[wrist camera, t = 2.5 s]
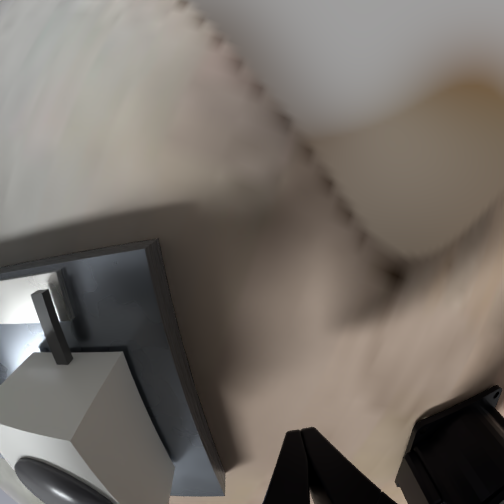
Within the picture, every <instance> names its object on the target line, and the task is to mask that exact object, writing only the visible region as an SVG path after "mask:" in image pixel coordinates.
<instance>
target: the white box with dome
mask: <svg viewBox="0 0 504 504" xmlns="http://www.w3.org/2000/svg"><path fill="white" fill-rule="evenodd" d="M31 298H32V301H33V304H34V307H35V310H36V313H37V316H38V319H39V321H40V324H41V327H42V330H43V332H44V335H45V337H46V340H47V343H48V345H49V347H50V350H51V352H33V353H32V354H31V355H30V356H29V357H28V358H27V359H26V360H25V361H24V362H23V363H22V364H21V365H20V366H19V367H18V368H17V369H16V370H15V371H14V372H13V373H12V374H11V375H10V376H9V377H8V378H7V379H6V380H5V381H4V382H3V383H2V384H1V385H0V453H1V455H2V456H3V457H4V458H5V460H6V461H7V462H8V463H9V465H10V466H11V467H12V468H13V469H14V471H15V472H16V474H17V476H18V478H19V479H20V480H21V482H22V483H23V484H24V485H25V486H26V487H27V488H28V489H29V490H30V491H31V492H32V493H33V494H34V495H35V496H36V497H38V498H39V499H40V500H41V501H43V502H44V503H45V504H169V498H170V493H171V487H172V481H173V476H174V470H175V466H174V464H173V463H172V461H171V459H170V457H169V455H168V453H167V451H166V450H165V448H164V446H163V444H162V442H161V440H160V438H159V436H158V434H157V432H156V430H155V427H154V425H153V423H152V421H151V419H150V417H149V415H148V412H147V410H146V408H145V406H144V403H143V401H142V399H141V397H140V394H139V392H138V389H137V387H136V385H135V382H134V380H133V377H132V375H131V372H130V369H129V367H128V364H127V362H126V359H125V356H124V353H123V351H121V352H81V353H71V351H70V349H69V346H68V344H67V341H66V339H65V336H64V333H63V331H62V328H61V325H60V322H59V320H58V317H57V314H56V311H55V308H54V305H53V301H52V298H51V295H50V292H49V289H43V290H37V291H35V292H34V293H32V294H31Z"/></svg>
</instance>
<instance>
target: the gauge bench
mask: <svg viewBox="0 0 504 504" xmlns="http://www.w3.org/2000/svg"><path fill="white" fill-rule="evenodd" d="M43 289H49V292H50V295H51V298H52V301H53V305H54V308H55V311H56V314H57V317H58V320H59V322H60V325H61V328H62V331H63V333H64V336H65V339H66V341H67V344H68V346H69V349H70V351H71V353H81V352H121V351H123V353H124V356H125V359H126V362H127V364H128V367H129V369H130V372H131V375H132V377H133V380H134V382H135V385H136V387H137V389H138V392H139V394H140V397H141V399H142V401H143V403H144V406H145V408H146V410H147V412H148V415H149V417H150V419H151V421H152V423H153V425H154V427H155V430H156V432H157V434H158V436H159V438H160V440H161V442H162V444H163V446H164V448H165V450H166V451H167V453H168V455H169V457H170V459H171V461H172V463H173V464H174V466H175V470H174V476H173V481H172V487H171V493H170V496H225V471H224V469H223V466H222V463H221V461H220V458H219V455H218V453H217V450H216V447H215V445H214V442H213V439H212V436H211V433H210V431H209V428H208V425H207V422H206V419H205V416H204V413H203V410H202V407H201V404H200V401H199V397H198V394H197V391H196V388H195V385H194V381H193V378H192V375H191V371H190V368H189V364H188V361H187V357H186V354H185V350H184V347H183V343H182V339H181V335H180V332H179V328H178V324H177V320H176V316H175V312H174V308H173V304H172V300H171V295H170V291H169V287H168V282H167V278H166V273H165V269H164V264H163V259H162V254H161V249H160V244H159V239H152V240H146V241H140V242H134V243H128V244H122V245H117V246H111V247H105V248H100V249H94V250H89V251H83V252H78V253H72V254H67V255H62V256H56V257H51V258H46V259H41V260H36V261H31V262H26V263H21V264H16V265H11V266H6V267H1V268H0V385H1V384H2V383H3V382H4V381H5V380H6V379H7V378H8V377H9V376H10V375H11V374H12V373H13V372H14V371H15V370H16V369H17V368H18V367H19V366H20V365H21V364H22V363H23V362H24V361H25V360H26V359H27V358H28V357H29V356H30V355H31V354H32V353H33V352H51V350H50V347H49V345H48V343H47V340H46V337H45V335H44V332H43V330H42V327H41V324H40V321H39V319H38V316H37V313H36V310H35V307H34V304H33V301H32V298H31V294H32V293H34V292H35V291H37V290H43ZM0 457H1V458H3V459H5V458H4V457H3V456H2V455H1V453H0Z"/></svg>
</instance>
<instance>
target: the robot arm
mask: <svg viewBox="0 0 504 504" xmlns="http://www.w3.org/2000/svg"><path fill="white" fill-rule="evenodd" d="M501 392H502V388H501V387H499V386H498V385H495V386H493V387H491V388H490V389H488V390H486V391H484V392H482V393H480V394H478V395H476V396H475V397H473V398H471V399H469V400H467V401H464V402H462V403H460V404H458V405H456V406H454V407H452V408H450V409H447V410H445V411H443V412H441V413H438V414H436V415H434V416H431V417H429V418H426V419H424V420H422V421H420V422H418V423H417V424H416V425H415V426H414V428H413V430H412V433H411V436H410V440H409V443H408V446H407V449H406V452H405V455H404V457H403V460H402V463H401V466H400V468H399V471H398V474H397V476H396V480H395V483H396V485H397V487H400V488H401V490H402V492H403V494H404V496H405V499H406V501H407V503H408V504H504V417H503V416H502V415H501V414H500V413H499V412H498V411H497V410H496V409H495V407H496V404H497V402H498V400H499V397H500V395H501ZM380 492H381V490H380V489H379V488H378V487H377V486H376V485H375V484H374V483H372V482H371V481H370V480H369V479H368V478H367V477H366V476H365V475H364V474H362V473H361V472H360V471H359V470H358V469H357V468H356V467H355V466H354V465H353V464H352V463H351V462H350V461H348V460H347V459H346V458H345V457H344V456H343V455H342V454H341V453H340V452H339V451H338V450H337V449H336V448H335V447H334V446H333V445H332V444H331V443H330V442H329V441H328V440H327V439H326V438H325V437H324V436H323V435H322V434H321V433H320V432H319V431H318V430H317V429H316V428H314V427H309V428H304V429H301V431H300V430H292V431H288V432H287V433H286V435H285V438H284V441H283V445H282V448H281V451H280V454H279V457H278V460H277V463H276V466H275V469H274V472H273V475H272V478H271V481H270V484H269V487H268V490H267V492H266V495H265V498H264V501H263V503H262V504H310V493H311V496H312V499H313V502H314V504H397V503H396V502H395V501H393V500H392V499H391V498H390V497H389V496H387V495H386V494H385V493H384V492H381V493H380Z"/></svg>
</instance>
